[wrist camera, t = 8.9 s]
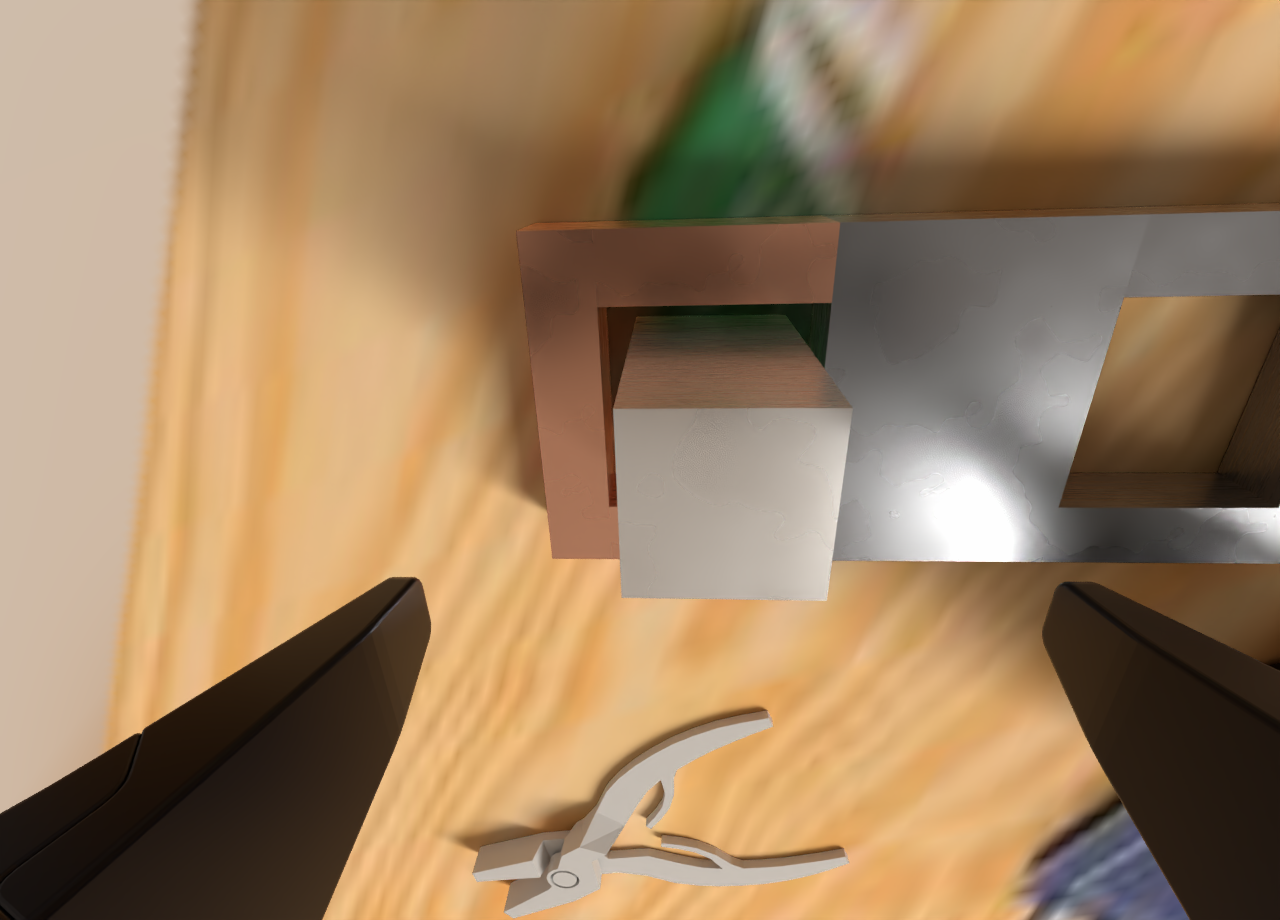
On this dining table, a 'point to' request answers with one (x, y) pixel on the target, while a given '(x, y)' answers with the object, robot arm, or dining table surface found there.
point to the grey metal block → (727, 460)
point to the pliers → (581, 855)
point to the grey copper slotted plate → (929, 370)
